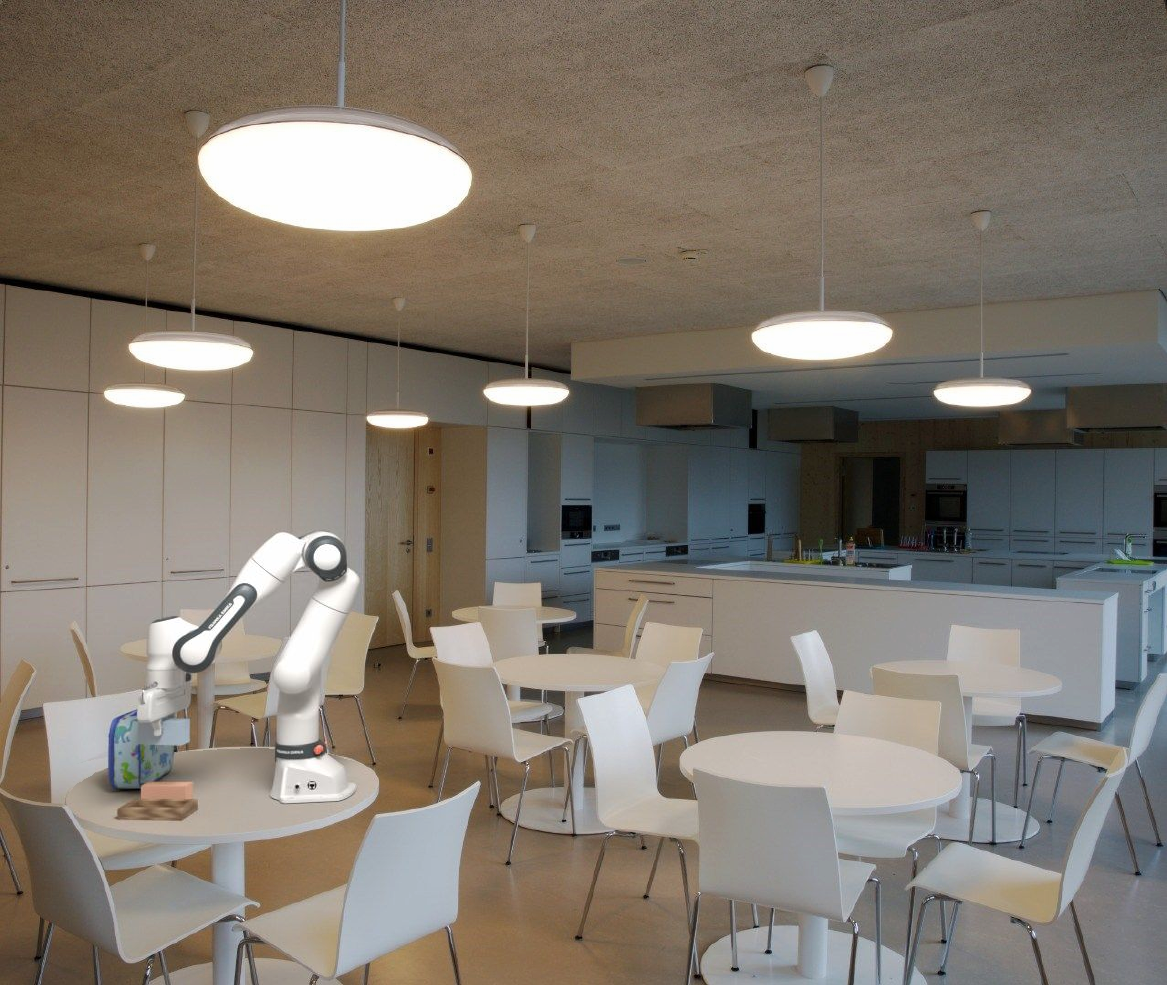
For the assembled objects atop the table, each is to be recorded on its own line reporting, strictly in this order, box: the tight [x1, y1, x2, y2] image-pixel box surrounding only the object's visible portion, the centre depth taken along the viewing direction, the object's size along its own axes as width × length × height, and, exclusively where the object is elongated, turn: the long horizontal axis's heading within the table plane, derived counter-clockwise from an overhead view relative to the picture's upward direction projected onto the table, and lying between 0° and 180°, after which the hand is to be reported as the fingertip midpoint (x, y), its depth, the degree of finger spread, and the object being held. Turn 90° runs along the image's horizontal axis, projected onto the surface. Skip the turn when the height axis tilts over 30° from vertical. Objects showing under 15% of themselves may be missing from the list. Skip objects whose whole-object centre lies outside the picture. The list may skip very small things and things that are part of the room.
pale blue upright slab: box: [138, 717, 191, 747], centre depth 242 cm, size 12×4×6 cm, turn 82°
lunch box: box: [107, 709, 175, 790], centre depth 266 cm, size 26×11×21 cm, turn 3°
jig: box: [116, 798, 199, 821], centre depth 235 cm, size 16×8×3 cm, turn 87°
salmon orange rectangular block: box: [140, 781, 194, 799], centre depth 246 cm, size 12×4×5 cm, turn 87°
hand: (164, 732), depth 242 cm, fingers closed on pale blue upright slab, 4 cm apart
